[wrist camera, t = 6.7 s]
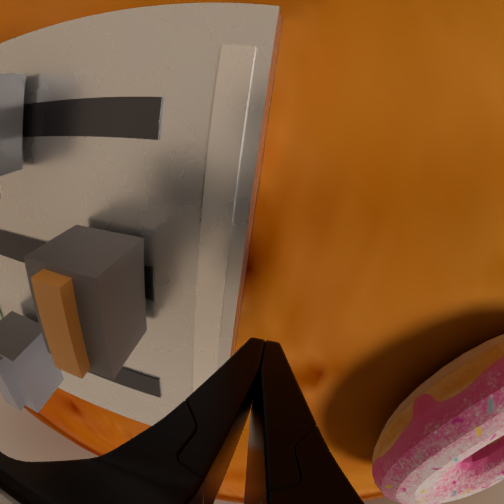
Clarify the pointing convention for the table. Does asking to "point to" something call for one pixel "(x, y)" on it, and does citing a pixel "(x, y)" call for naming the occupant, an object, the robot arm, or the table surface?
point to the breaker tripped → (89, 298)
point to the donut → (447, 432)
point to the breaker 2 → (25, 364)
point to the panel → (146, 175)
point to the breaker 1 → (11, 121)
